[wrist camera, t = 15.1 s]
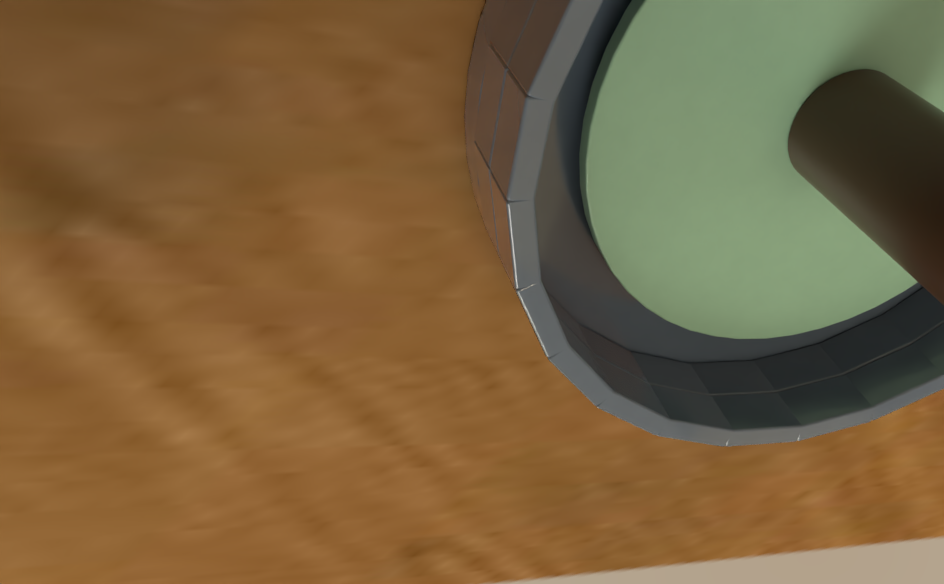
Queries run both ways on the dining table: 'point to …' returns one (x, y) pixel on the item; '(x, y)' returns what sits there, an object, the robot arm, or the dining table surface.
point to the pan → (609, 304)
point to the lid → (768, 159)
